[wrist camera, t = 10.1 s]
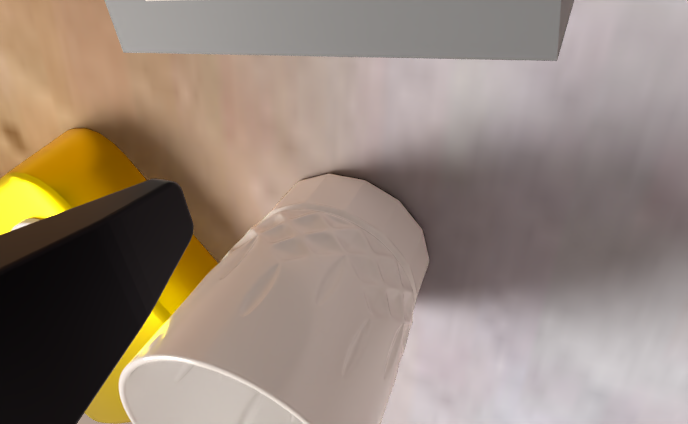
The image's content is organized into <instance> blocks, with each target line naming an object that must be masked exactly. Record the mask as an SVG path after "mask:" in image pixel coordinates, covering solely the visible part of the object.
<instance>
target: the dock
mask: <svg viewBox="0 0 688 424" xmlns="http://www.w3.org/2000/svg"><path fill="white" fill-rule="evenodd" d="M105 3H106V6H107V8H108V11H109V14H110V17H111V19H112V22H113V25H114V28H115V30H116V33H117V36H118V39H119V41H120V44H121V47H122V49H123V52H126V53H178V54H230V55H282V56H334V57H386V58H438V59H490V60H542V61H557V59H558V56H559V52H560V48H561V45H562V41H563V38H564V34H565V31H566V27H567V24H568V20H569V17H570V13H571V10H572V6H573V3H574V0H105Z"/></svg>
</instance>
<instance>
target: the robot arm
mask: <svg viewBox="0 0 688 424" xmlns="http://www.w3.org/2000/svg"><path fill="white" fill-rule="evenodd" d="M192 235H193V221H192V218H191V215H190V212H189V209H188V206H187V203H186V200H185V197H184V194H183V191H182V189H181V187H180V186H179V185H178V183H176V182H174V181H169V180H163V179H150V180H147V181H144V182H141V183H139V184H136V185H133V186H131V187H128V188H125V189H123V190H120V191H117V192H115V193H112V194H109V195H106V196H104V197H101V198H98V199H96V200H93V201H90V202H88V203H85V204H82V205H80V206H77V207H74V208H71V209H69V210H66V211H63V212H61V213H58V214H55V215H53V216H50V217H47V218H45V219H42V220H39V221H36V222H34V223H31V224H28V225H26V226H23V227H20V228H18V229H15V230H12V231H10V232H7V233H4V234H1V235H0V424H77V423H78V421H79V420H80V418H81V417H82V415H83V414H84V412H85V411H86V410H87V408H88V407H89V405H90V404H91V402H92V401H93V399H94V398H95V396H96V395H97V393H98V392H99V390H100V389H101V387H102V386H103V384H104V383H105V381H106V380H107V378H108V377H109V375H110V374H111V373H112V371H113V370H114V368H115V367H116V365H117V364H118V362H119V361H120V359H121V358H122V356H123V355H124V353H125V352H126V350H127V349H128V347H129V346H130V344H131V343H132V341H133V340H134V338H135V337H136V336H137V334H138V333H139V331H140V330H141V328H142V327H143V325H144V323H145V322H146V320H147V319H148V317H149V316H150V314H151V312H152V310H153V309H154V307H155V305H156V303H157V301H158V300H159V298H160V296H161V294H162V292H163V290H164V289H165V287H166V285H167V283H168V281H169V279H170V277H171V276H172V274H173V272H174V270H175V268H176V266H177V265H178V263H179V261H180V259H181V257H182V255H183V253H184V252H185V250H186V248H187V246H188V244H189V242H190V240H191V238H192Z"/></svg>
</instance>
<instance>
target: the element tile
mask: <svg viewBox="0 0 688 424" xmlns="http://www.w3.org/2000/svg"><path fill="white" fill-rule="evenodd" d="M144 181H147V180H146V179H145V178H144V176H143V175H142V174H141V173H140V172H139V171H138V169H137V168H136V167H135V166H134V165H133V164H132V162H131V161H130V160H129V159H128V158H127V157H126V155H125V154H124V153H123V152H122V151H121V150H120V149H119V148H118V147H117V146H116V145H115V144H114V143H112V142H111V141H110V140H108V139H107V138H105V137H104V136H103V135H101V134H100V133H98V132H95V131H92V130H90V129H87V128H75V129H71V130H68V131H66V132H65V133H63V134H62V135H60V136H59V137H58V138H56V139H55V140H53V141H52V142H50V143H49V144H48V145H46V146H45V147H43V148H42V149H41V150H39V151H38V152H36V153H35V154H33V155H32V156H31V157H29V158H28V159H26V160H25V161H23V162H22V163H21V164H19V165H18V166H16V167H15V168H13V169H12V170H11V171H9V172H8V173H7V174H5V175H4V176H3V177H2V178H0V235H1V234H4V233H7V232H10V231H12V230H15V229H18V228H20V227H23V226H26V225H28V224H31V223H34V222H36V221H39V220H42V219H45V218H47V217H50V216H53V215H55V214H58V213H61V212H63V211H66V210H69V209H71V208H74V207H77V206H80V205H82V204H85V203H88V202H90V201H93V200H96V199H98V198H101V197H104V196H106V195H109V194H112V193H115V192H117V191H120V190H123V189H125V188H128V187H131V186H133V185H136V184H139V183H141V182H144ZM217 264H218V263H217V262H216V260H215V259H214V258H213V257H212V256H211V255H210V253H209V252H208V251H207V250H206V249H205V248H204V246H203V245H202V244H201V243H200V242H199V241H198V239H197V238H196V237H195V236H194V235H192V238H191V240H190V242H189V244H188V246H187V248H186V250H185V252H184V253H183V255H182V257H181V259H180V261H179V263H178V265H177V266H176V268H175V270H174V272H173V274H172V276H171V277H170V279H169V281H168V283H167V285H166V287H165V289H164V290H163V292H162V294H161V296H160V298H159V300H158V301H157V303H156V305H155V307H154V309H153V310H152V312H151V314H150V316H149V317H148V319H147V320H146V322H145V323H144V325H143V327H142V328H141V330H140V331H139V333H138V334H137V336H136V337H135V338H134V340H133V341H132V343H131V344H130V346H129V347H128V349H127V350H126V352H125V353H124V355H123V356H122V358H121V359H120V361H119V362H118V364H117V365H116V367H115V368H114V370H113V371H112V373H111V374H110V375H109V377H108V378H107V380H106V381H105V383H104V384H103V386H102V387H101V389H100V390H99V392H98V393H97V395H96V396H95V398H94V399H93V401H92V402H91V404H90V405H89V407H88V408H87V410H86V411H85V412H84V413H85V414H87V415H88V416H89V417H90V418H92V419H93V420H95V421H98V422H102V423H114V424H117V423H125V422H131V420H130V419H129V417H128V415H127V413H126V411H125V409H124V407H123V405H122V402H121V399H120V395H119V378H120V375H121V373H122V371H123V369H124V368H125V367H126V365H127V364H128V363H129V362H130V361H131V360H132V359H133V358H134V356H135V355H136V354H137V353H138V352H139V351H140V350H141V349H142V347H143V346H144V345H145V344H146V343H147V342H148V341H149V340H150V339H151V337H152V336H153V335H154V334H155V333H156V332H157V331H158V329H159V328H160V327H161V326H162V325H163V324H164V323H165V322H166V321H167V320H168V319H169V318H170V316H171V315H172V314H173V313H174V312H175V311H176V310H177V309H178V307H179V306H180V305H181V304H182V303H183V302H184V301H185V300H186V298H187V297H188V296H189V295H190V294H191V293H192V292H193V290H194V289H195V288H196V287H197V286H198V285H199V283H200V282H201V281H202V280H203V279H204V277H205V276H206V275H207V274H208V273H209V272H210V271H211V270H212V269H213V268H214V267H215V266H216V265H217Z"/></svg>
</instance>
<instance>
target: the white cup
mask: <svg viewBox="0 0 688 424" xmlns="http://www.w3.org/2000/svg"><path fill="white" fill-rule="evenodd" d="M428 264H429V256H428V251H427V247H426V243H425V238H424V234H423V230H422V228H421V227H420V226H419V225H418V223H417V222H416V221H415V220H414V218H413V217H412V216H411V215H410V213H409V212H408V211H407V210H406V208H405V207H404V206H403V205H402V203H401V202H400V201H399V200H397V199H396V198H394V197H392V196H391V195H389V194H388V193H386V192H384V191H383V190H381V189H379V188H377V187H376V186H374V185H372V184H371V183H369V182H367V181H365V180H361V179H356V178H351V177H345V176H340V175H334V174H325V175H321V176H317V177H313V178H309V179H305V180H301V181H298V182H297V183H296V184H295V185H294V186H293V187H292V188H291V189H290V190H289V191H288V192H287V193H286V194H285V196H284V197H283V198H282V199H281V200H280V201H279V202H278V203H277V204H276V205H275V207H274V208H273V209H272V210H271V211H270V212H269V214H267V215H266V216H265V217H264V218H263V219H262V220H261V221H260V222H259V223H257V224H255V225H254V226H252V227H251V228H250V229H249V230H248V232H247V233H246V234H245V235H244V237H243V238H242V239H241V240H239V241H238V242H237V243H236V244H235V245H234V246H233V247H232V248H231V249H230V250H229V252H228V253H227V254H226V255H225V256H224V258H223V259H222V260H221V262H220V263H218V264H217V265H216V266H215V267H214V268H213V269H212V270H211V271H210V272H209V273H208V274H207V275H206V276H205V277H204V279H203V280H202V281H201V282H200V283H199V285H198V286H197V287H196V288H195V289H194V290H193V292H192V293H191V294H190V295H189V296H188V297H187V298H186V300H185V301H184V302H183V303H182V304H181V305H180V306H179V307H178V309H177V310H176V311H175V312H174V313H173V314H172V315H171V316H170V318H169V319H168V320H167V321H166V322H165V323H164V324H163V325H162V326H161V327H160V328H159V329H158V331H157V332H156V333H155V334H154V335H153V336H152V337H151V339H150V340H149V341H148V342H147V343H146V344H145V345H144V346H143V347H142V349H141V350H140V351H139V352H138V353H137V354H136V355H135V356H134V358H133V359H132V360H131V361H130V362H129V363H128V364H127V365H126V367H125V368H124V369H123V371H122V373H121V375H120V378H119V395H120V399H121V402H122V405H123V407H124V409H125V411H126V413H127V415H128V417H129V419H130V420H131V422H132V423H133V424H381V421H382V418H383V415H384V412H385V409H386V406H387V403H388V400H389V398H390V395H391V392H392V389H393V387H394V383H395V380H396V376H397V372H398V367H399V363H400V361H401V358H402V356H403V353H404V350H405V346H406V343H407V339H408V335H409V331H410V328H411V326H412V323H413V310H414V307H415V304H416V300H417V296H418V293H419V290H420V287H421V284H422V282H423V279H424V276H425V273H426V270H427V267H428Z"/></svg>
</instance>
